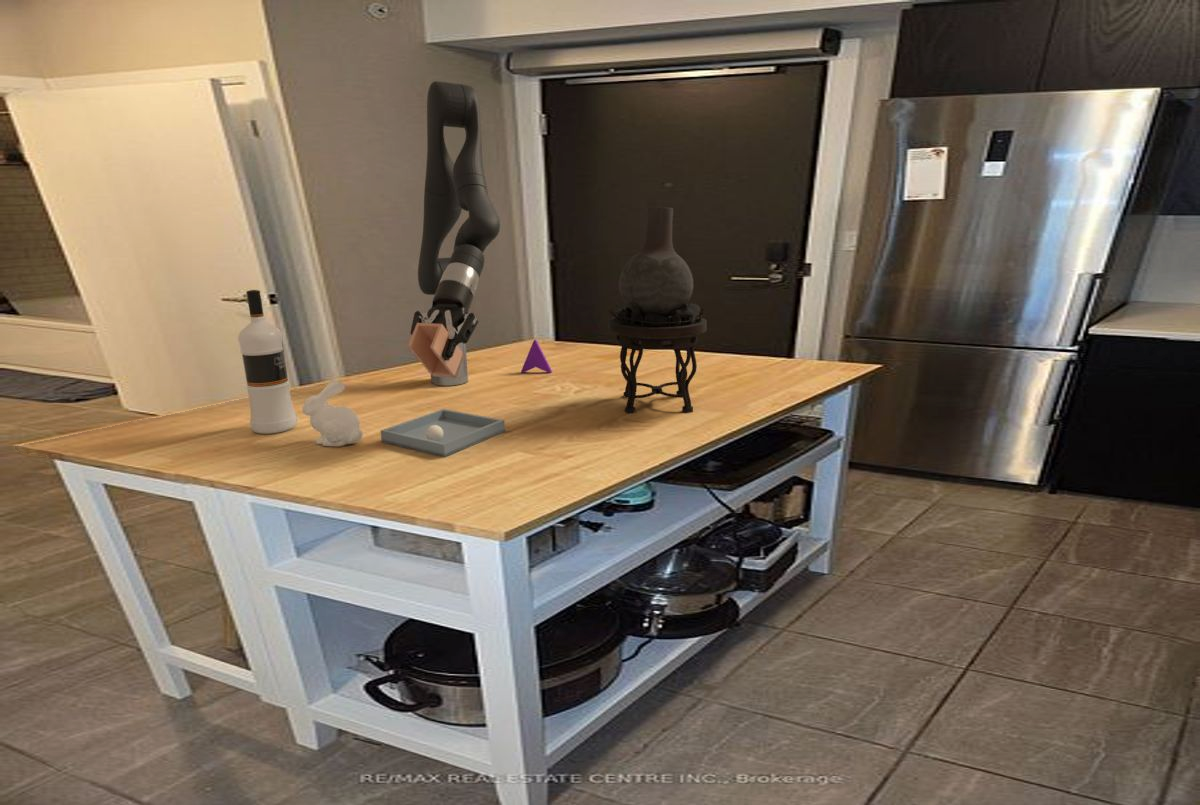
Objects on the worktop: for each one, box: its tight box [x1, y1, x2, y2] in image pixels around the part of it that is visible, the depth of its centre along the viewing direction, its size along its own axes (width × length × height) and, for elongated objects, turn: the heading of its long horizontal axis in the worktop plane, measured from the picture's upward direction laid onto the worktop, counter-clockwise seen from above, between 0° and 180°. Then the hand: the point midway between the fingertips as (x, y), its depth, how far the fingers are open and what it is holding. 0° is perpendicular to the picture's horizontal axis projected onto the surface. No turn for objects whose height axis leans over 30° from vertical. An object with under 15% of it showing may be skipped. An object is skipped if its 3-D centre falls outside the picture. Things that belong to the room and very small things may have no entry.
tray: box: [380, 408, 506, 458], centre depth 139 cm, size 18×18×2 cm
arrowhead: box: [520, 339, 553, 374], centre depth 192 cm, size 10×2×10 cm
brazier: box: [607, 206, 708, 414], centre depth 154 cm, size 22×22×45 cm
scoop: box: [407, 323, 464, 378], centre depth 135 cm, size 6×6×11 cm
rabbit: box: [302, 379, 364, 447], centre depth 136 cm, size 12×9×12 cm
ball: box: [426, 425, 443, 441], centre depth 134 cm, size 3×3×3 cm
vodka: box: [237, 289, 298, 435], centre depth 143 cm, size 9×9×30 cm
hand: (431, 357), depth 133 cm, fingers closed on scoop, 5 cm apart
